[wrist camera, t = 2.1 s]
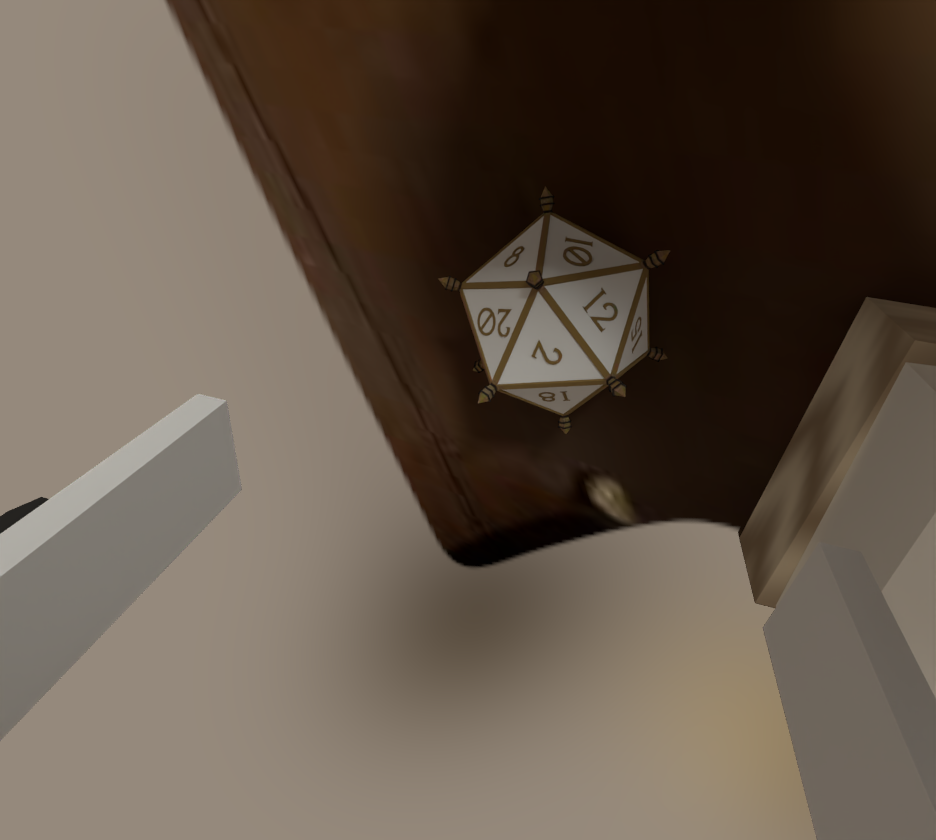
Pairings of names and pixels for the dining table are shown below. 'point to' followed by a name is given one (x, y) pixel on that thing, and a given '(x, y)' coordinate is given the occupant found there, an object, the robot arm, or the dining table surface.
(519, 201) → the dining table surface
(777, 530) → the birch base block
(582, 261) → the game die
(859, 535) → the white top block
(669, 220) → the dining table surface
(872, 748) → the robot arm
